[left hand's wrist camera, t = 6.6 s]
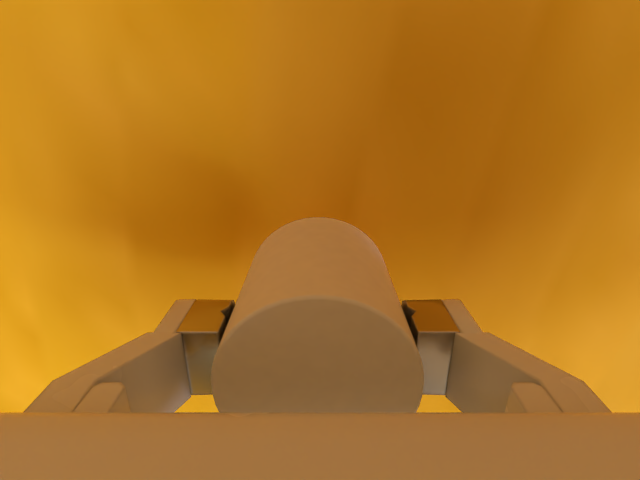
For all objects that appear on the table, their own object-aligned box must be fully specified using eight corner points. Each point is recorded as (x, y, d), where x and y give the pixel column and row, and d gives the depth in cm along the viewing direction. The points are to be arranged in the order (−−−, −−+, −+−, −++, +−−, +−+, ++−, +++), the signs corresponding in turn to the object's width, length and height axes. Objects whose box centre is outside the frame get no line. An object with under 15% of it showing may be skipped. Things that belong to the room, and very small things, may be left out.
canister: (311, 359, 14) (307, 494, 9) (221, 274, 13) (164, 381, 8) (413, 287, 13) (467, 399, 8) (326, 186, 12) (330, 250, 7)
